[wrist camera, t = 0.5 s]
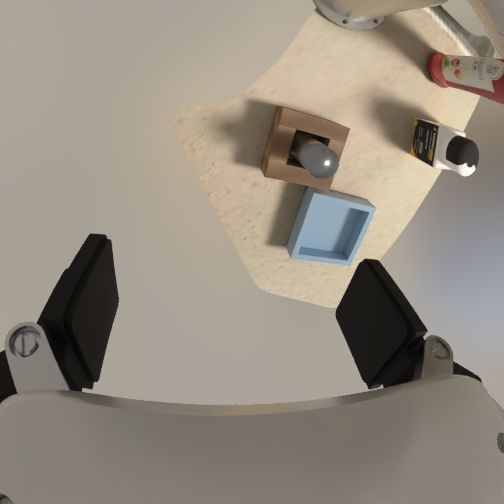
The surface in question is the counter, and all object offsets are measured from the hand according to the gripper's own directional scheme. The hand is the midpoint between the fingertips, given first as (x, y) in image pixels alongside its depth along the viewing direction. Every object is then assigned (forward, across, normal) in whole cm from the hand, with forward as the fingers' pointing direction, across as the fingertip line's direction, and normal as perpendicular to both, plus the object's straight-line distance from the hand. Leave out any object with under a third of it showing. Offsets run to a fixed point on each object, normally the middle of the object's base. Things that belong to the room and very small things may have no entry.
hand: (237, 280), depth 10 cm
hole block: (+32, -12, 0) cm, 35 cm away
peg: (+32, -12, 0) cm, 35 cm away
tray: (+32, -21, +12) cm, 40 cm away
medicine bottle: (+33, -36, -8) cm, 49 cm away
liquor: (+33, -34, -22) cm, 52 cm away
